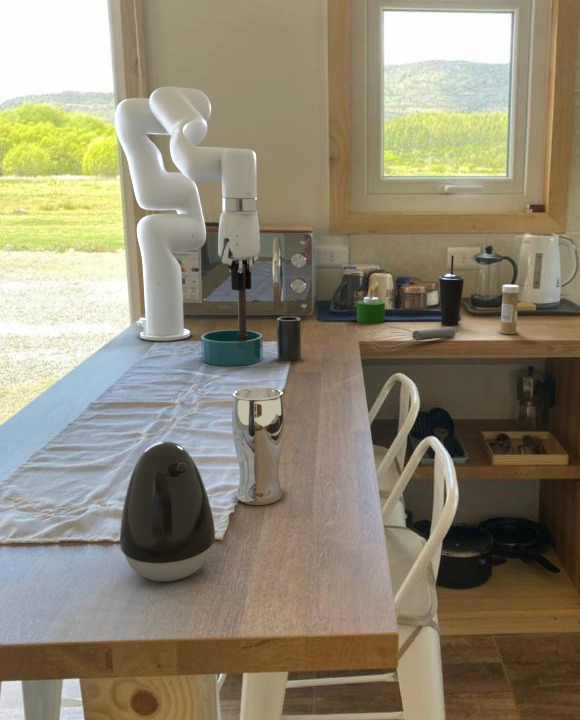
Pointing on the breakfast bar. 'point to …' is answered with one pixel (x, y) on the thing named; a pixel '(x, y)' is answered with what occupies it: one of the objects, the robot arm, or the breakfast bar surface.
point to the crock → (289, 338)
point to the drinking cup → (450, 296)
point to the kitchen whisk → (420, 335)
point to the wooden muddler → (242, 312)
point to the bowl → (231, 348)
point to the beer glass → (258, 442)
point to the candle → (370, 309)
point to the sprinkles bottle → (509, 309)
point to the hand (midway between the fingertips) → (241, 288)
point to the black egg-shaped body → (166, 515)
